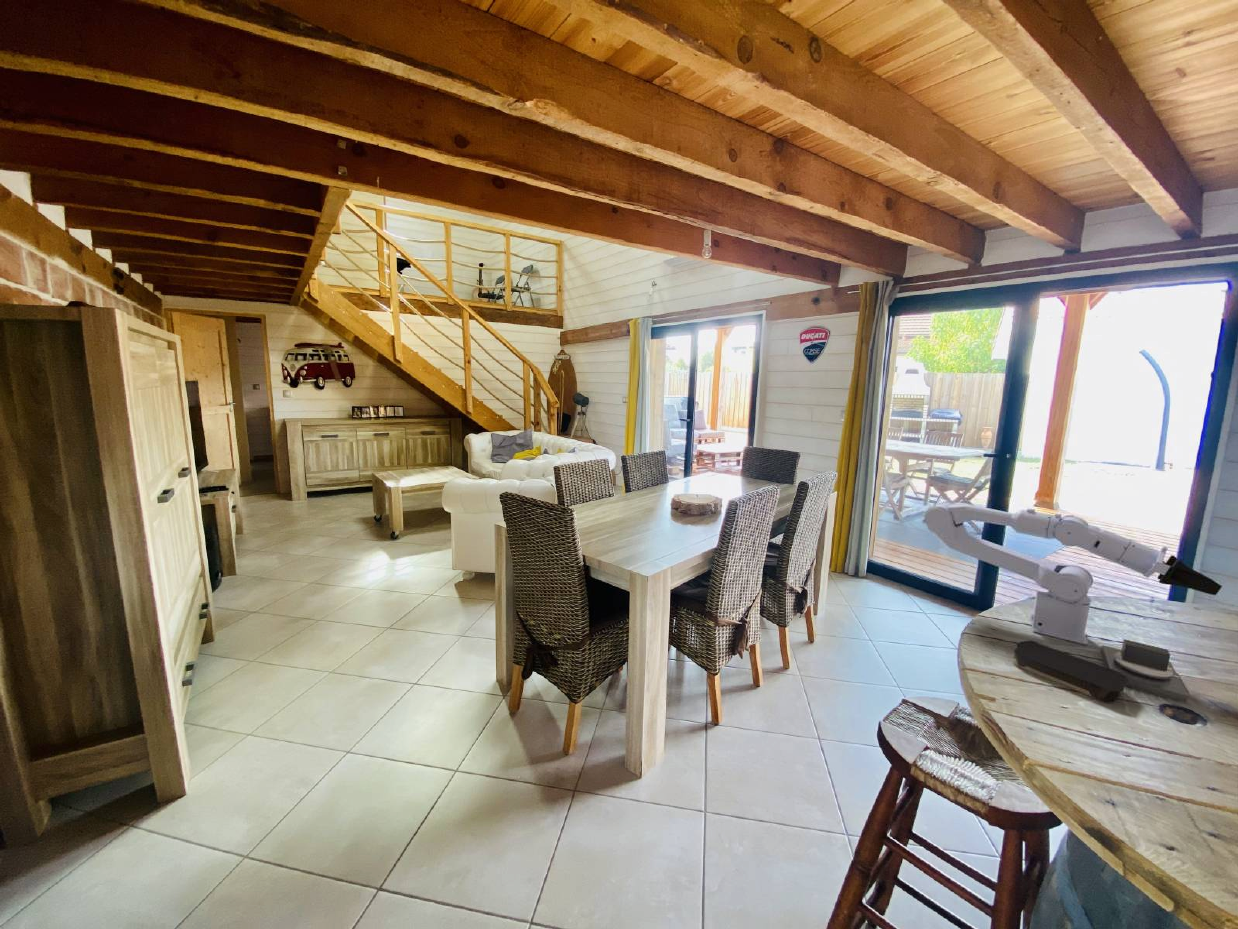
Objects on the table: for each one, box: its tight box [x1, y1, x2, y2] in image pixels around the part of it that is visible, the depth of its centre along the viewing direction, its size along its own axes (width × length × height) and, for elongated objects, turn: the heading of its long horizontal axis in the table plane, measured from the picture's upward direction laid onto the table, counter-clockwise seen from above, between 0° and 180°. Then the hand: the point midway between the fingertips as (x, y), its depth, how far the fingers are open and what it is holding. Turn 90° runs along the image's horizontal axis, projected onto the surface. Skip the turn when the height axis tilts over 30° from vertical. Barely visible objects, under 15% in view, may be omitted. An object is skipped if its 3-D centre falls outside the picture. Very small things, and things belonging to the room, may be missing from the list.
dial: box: [1114, 638, 1173, 679], centre depth 96 cm, size 8×8×4 cm
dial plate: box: [1100, 644, 1190, 704], centre depth 96 cm, size 10×14×2 cm
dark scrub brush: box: [1012, 640, 1127, 703], centre depth 96 cm, size 16×8×4 cm, turn 32°
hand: (1215, 588), depth 94 cm, fingers open, 7 cm apart
